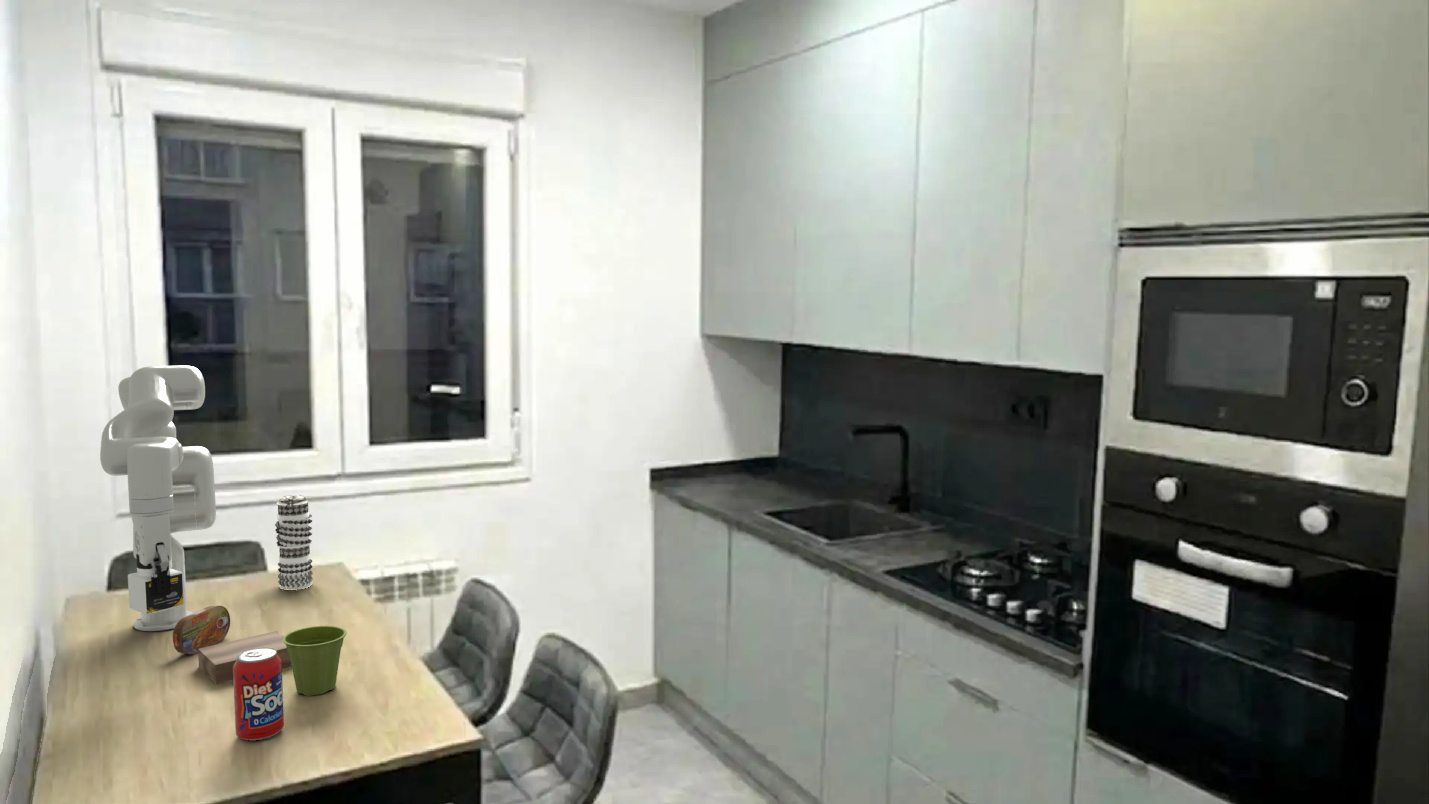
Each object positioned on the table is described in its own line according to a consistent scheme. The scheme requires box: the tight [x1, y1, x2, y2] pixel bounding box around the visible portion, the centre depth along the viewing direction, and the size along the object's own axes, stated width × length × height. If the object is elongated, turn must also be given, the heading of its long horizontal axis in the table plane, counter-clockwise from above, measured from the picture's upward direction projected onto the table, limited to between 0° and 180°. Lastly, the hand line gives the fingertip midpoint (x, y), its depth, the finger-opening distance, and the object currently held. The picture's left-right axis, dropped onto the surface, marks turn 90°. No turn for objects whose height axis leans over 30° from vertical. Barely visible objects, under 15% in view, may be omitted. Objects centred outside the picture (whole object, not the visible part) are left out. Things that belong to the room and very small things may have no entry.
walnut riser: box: [197, 630, 292, 685], centre depth 198 cm, size 12×16×4 cm
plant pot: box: [282, 625, 348, 697], centre depth 186 cm, size 12×12×11 cm
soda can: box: [232, 648, 285, 742], centre depth 166 cm, size 8×8×15 cm
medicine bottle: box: [127, 554, 183, 615], centre depth 185 cm, size 7×7×12 cm
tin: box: [172, 605, 231, 656], centre depth 207 cm, size 15×3×8 cm, turn 168°
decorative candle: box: [274, 494, 314, 591], centre depth 252 cm, size 9×9×25 cm
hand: (156, 590), depth 185 cm, fingers closed on medicine bottle, 8 cm apart
